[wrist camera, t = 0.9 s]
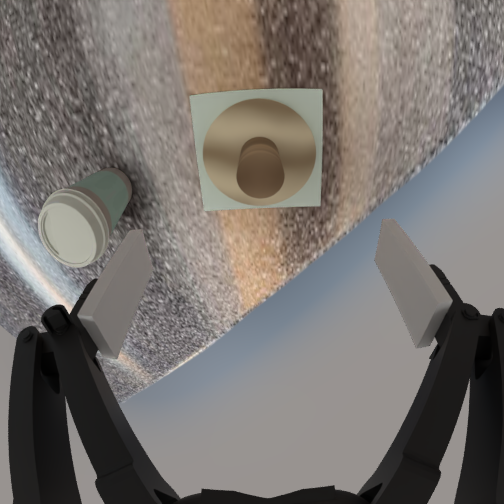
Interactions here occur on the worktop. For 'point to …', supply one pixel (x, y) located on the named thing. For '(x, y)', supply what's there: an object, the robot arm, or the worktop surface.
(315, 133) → the mat
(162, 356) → the worktop surface
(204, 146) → the lid
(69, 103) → the worktop surface
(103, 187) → the coffee cup
